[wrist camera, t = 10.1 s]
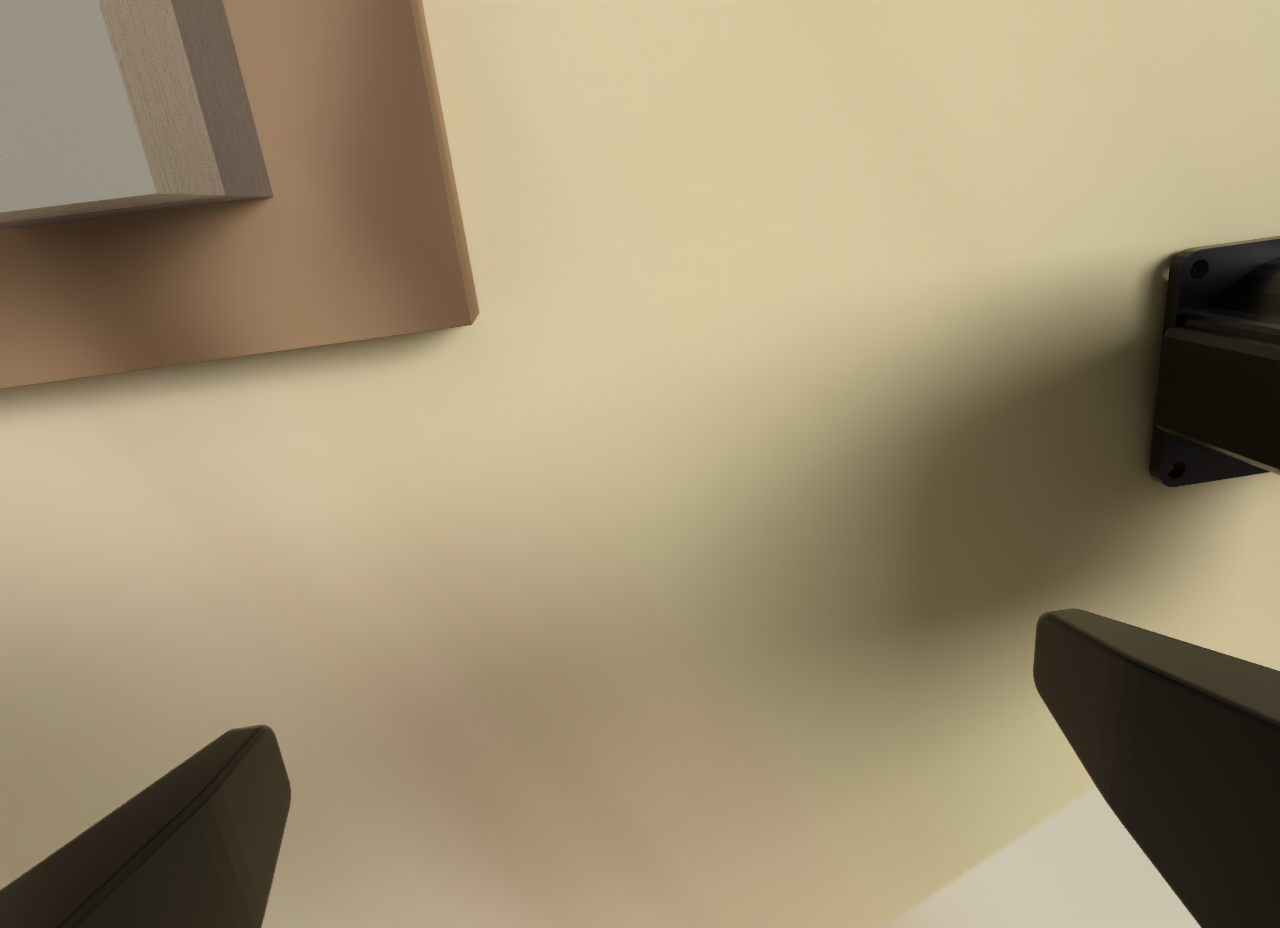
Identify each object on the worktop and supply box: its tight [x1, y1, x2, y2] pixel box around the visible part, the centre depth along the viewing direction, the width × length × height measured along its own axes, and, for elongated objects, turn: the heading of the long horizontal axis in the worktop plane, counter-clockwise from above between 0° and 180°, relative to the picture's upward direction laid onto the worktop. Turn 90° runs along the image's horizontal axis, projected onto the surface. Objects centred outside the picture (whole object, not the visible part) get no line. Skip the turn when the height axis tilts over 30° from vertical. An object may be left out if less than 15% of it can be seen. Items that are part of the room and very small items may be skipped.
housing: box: [0, 0, 274, 229], centre depth 12 cm, size 5×6×5 cm
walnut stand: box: [0, 0, 479, 388], centre depth 16 cm, size 12×12×2 cm
